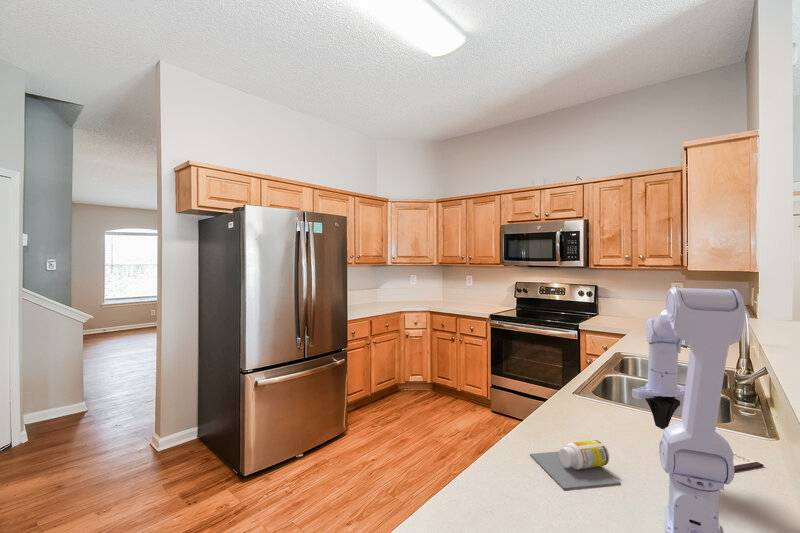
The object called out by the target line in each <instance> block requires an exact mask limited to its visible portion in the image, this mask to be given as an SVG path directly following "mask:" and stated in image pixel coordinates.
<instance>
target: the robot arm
mask: <svg viewBox="0 0 800 533" xmlns="http://www.w3.org/2000/svg"><path fill="white" fill-rule="evenodd" d="M746 308H747V307H746V305H745V301H744V298H743V295H742V294H741V293H740V292H739V291H738V290H737V289H736V288H727V289H722V288H721V289H719V288H718V289H717V288H694V287H693V288H690V287H689V288H688V287H677V286H672V287H670V288H669V290H668V291H667V292H666V296H665V309H663V310H662V311H661V313H660V314H658V316H657V317H656V318H655V319H653V318H650V317H649V318H648V319H647V320H646V322H645V337H646V338H645V339H646V341H647V343H648V357H647V358H648V360H647V361H648V363H647V365H648V366H647V367H648V368H647V383H645V385H644V386H641V387H637V388H631V397H632V398H634V399H635V400H638V401H642V400H643V399H644V400H645V401H646V403H647V404H648V406H649V408H650V411H651V414H652V417H653V421H654V425H655V427H657V428H659V429H661V430H664V431H663V432H662V436H661V439H660V440H659V443H658V444H659V445H658V452H659V453H658V456H659V461H660V462H659V463H660V465H661V468H662V469H663V470H664V471H665V473H667V474H669V476H668V477H669V478H668V479H669V480H668V481H669V484H668V504H665V533H722V530H721V525H720V494H721V493H720V492H721V491H724V490H725V485H727V486H728V485H730V484H731V483H732V482H733V481H734V478H735V472H734V464H733V456H734V454H733V451H734V450H733V449H732V447H731V446H730V443H729V442H728V440H727V439H726V438H725V437H724V436H723V435H721V434H720V433H719V432H717V431H716V430H717V423H718V415H719V410H720V403H721V396H722V390H723V383H724V376H725V371H726V364H727V359H728V353H729V348H730V346H732V345H734V344H737V343H739V342H740V341H741V340H742V334H743V333H744V332H743V331H744V325H745V320H746V313H747V309H746ZM683 341H684V342H686V343H687V344H688V346H689V353H688V354H689V355H688V363H687V370H686V379H685V380H686V381H685V385H684V386H683V385H681V386H680V385H678V384H679V383H678V374H679V372H678V371H679V366H678V365H679V354H680V353H681V350H682V343H683ZM677 397H683V403H682V410H681V418H680V419H681V420H680V421H678V422H677V423H674V424H671V425H670V422H671V420H672V418H673V415H674V413H675V412H676V411H677V409H678V408H679V407H680V406H681V400H679V399H677Z"/></svg>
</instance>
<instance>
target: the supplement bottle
mask: <svg viewBox="0 0 800 533" xmlns="http://www.w3.org/2000/svg"><path fill="white" fill-rule="evenodd" d="M558 452H559V456H560V460H561V462H562V463H563V465H564V466H566V467H572V468H574V469H577V470H578V469H585V468H592V467H599V466H600V467H603V466H606V465H607V464H609V461H610V454H609V450H608V448H607V446H606V445H605V444H604V442H602V441H601V440H599V439H592V440H585V441H577V442H569V443H567V444H565V446H564V447H561V448H559V451H558Z"/></svg>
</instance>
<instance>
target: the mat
mask: <svg viewBox="0 0 800 533" xmlns="http://www.w3.org/2000/svg"><path fill="white" fill-rule="evenodd" d="M529 456H530V457H531V458H532V459H533V461H534V462H536V463H537V464H538V465H539V466H540V467H541V469H543V470H544V471H545V473H547V475H549V477H550V478H551V479H552V480H553V481H554V482H555V483H556V484H557V485H558V486H559V487H560V488H561V490H563V491H568V490H577V489H586V488H588V489H589V488H597V487H599V488H600V487H608V486H617V485H621V482H620V480H618V479H616V478H615V476H613V475H612V474H610V473H609V472H608V471H606V470H605V469H604V468H603V466H599V467H592V468H585V469H578V470H577V469H574V468H572V467H566V466H564V465H563V463H562V462H561V460H560V456H559V451H549V452H538V453H537V452H535V453H530V454H529Z"/></svg>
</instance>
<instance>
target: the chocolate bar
mask: <svg viewBox="0 0 800 533" xmlns="http://www.w3.org/2000/svg"><path fill="white" fill-rule="evenodd" d="M732 451H733V454H734V456H733V464H734V473H737V472H742V471H748V470H753V469H759V468H763V467H764V464H762V463H760V462H759V461H756V460H754V459H751V458H749V457H747V456H745V455H743V454H741V453H738V452H736V451H734V450H732Z"/></svg>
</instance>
